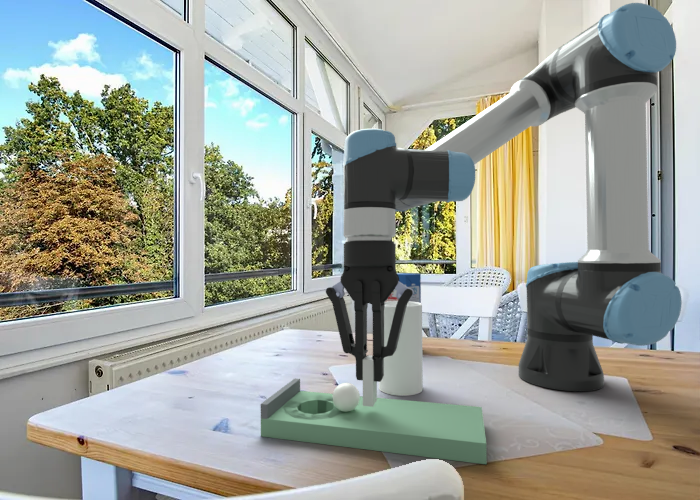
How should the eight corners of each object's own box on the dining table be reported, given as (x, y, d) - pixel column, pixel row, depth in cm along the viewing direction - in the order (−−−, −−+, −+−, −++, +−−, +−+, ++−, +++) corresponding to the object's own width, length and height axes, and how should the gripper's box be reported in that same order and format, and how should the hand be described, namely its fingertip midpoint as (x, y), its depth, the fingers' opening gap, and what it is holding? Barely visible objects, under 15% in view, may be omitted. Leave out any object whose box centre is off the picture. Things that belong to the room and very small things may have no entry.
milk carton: (377, 347, 110) (377, 273, 111) (392, 343, 115) (392, 272, 115) (406, 353, 103) (405, 274, 103) (421, 349, 107) (420, 273, 108)
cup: (412, 398, 71) (411, 307, 71) (371, 390, 75) (370, 304, 76) (429, 385, 78) (428, 302, 78) (390, 379, 82) (390, 300, 83)
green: (481, 423, 60) (481, 393, 61) (486, 464, 49) (486, 426, 49) (294, 405, 68) (294, 378, 68) (260, 436, 57) (260, 404, 57)
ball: (365, 403, 61) (358, 376, 61) (359, 413, 57) (351, 385, 57) (340, 407, 62) (334, 381, 62) (332, 418, 58) (325, 390, 58)
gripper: (417, 240, 61) (417, 398, 61) (334, 241, 64) (334, 390, 64) (411, 238, 54) (412, 417, 53) (318, 239, 57) (318, 408, 57)
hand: (369, 402), depth 59 cm, fingers closed
